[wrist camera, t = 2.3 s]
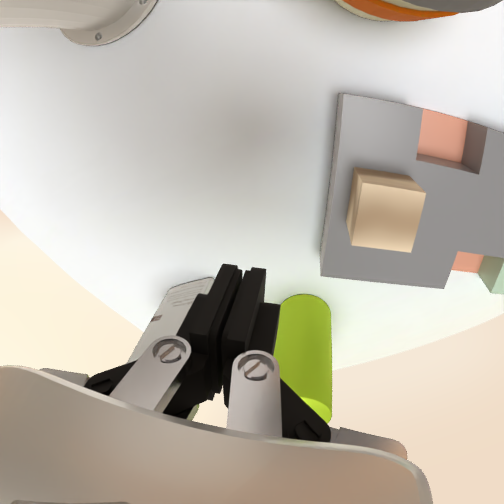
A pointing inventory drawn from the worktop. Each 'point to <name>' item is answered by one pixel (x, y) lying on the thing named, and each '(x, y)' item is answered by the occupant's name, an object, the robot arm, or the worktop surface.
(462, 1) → the reusable coffee cup
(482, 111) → the worktop surface
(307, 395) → the soap dispenser
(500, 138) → the board
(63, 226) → the worktop surface
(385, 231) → the maple block
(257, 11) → the worktop surface
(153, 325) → the skincare box
